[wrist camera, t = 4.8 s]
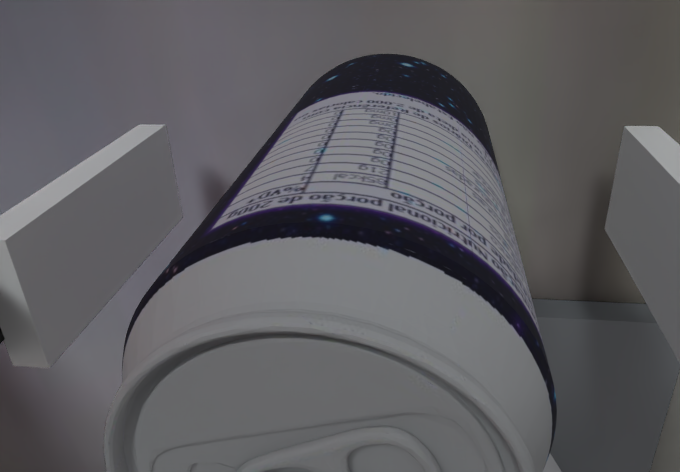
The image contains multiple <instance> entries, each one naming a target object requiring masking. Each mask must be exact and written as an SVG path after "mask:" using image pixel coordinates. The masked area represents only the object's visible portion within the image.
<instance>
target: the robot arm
mask: <svg viewBox="0 0 680 472" xmlns="http://www.w3.org/2000/svg"><path fill="white" fill-rule="evenodd" d="M182 218H183V214H182V209H181V204H180V198H179V193H178V187H177V182H176V176H175V171H174V165H173V160H172V155H171V149H170V144H169V138H168V133H167V127H166V125H142V124H139V125H138V126H136V127H135V128H133V129H132V130H130V131H129V132H127V133H125V134H124V135H122V136H121V137H119V138H118V139H116V140H115V141H113V142H112V143H110V144H109V145H107V146H106V147H104V148H103V149H101V150H100V151H98V152H96V153H95V154H93V155H92V156H90V157H89V158H87V159H86V160H84V161H83V162H81V163H80V164H78V165H77V166H75V167H74V168H72V169H71V170H69V171H67V172H66V173H64V174H63V175H61V176H60V177H58V178H57V179H55V180H54V181H52V182H51V183H49V184H48V185H46V186H45V187H43V188H42V189H40V190H38V191H37V192H35V193H34V194H32V195H31V196H29V197H28V198H26V199H25V200H23V201H22V202H20V203H19V204H17V205H16V206H14V207H12V208H11V209H9V210H8V211H6V212H5V213H3V214H2V215H0V343H1V342H2V341H4V344H5V346H6V349H7V351H8V354H9V357H10V359H11V362H12V364H13V366H22V367H36V368H50V367H51V366H52V365H53V364H54V363H55V362H56V361H57V359H58V358H59V357H60V356H61V355H62V354H63V353H64V351H65V350H66V349H67V348H68V347H69V346H70V345H71V344H72V342H73V341H74V340H75V339H76V338H77V337H78V336H79V334H80V333H81V332H82V331H83V330H84V329H85V328H86V327H87V325H88V324H89V323H90V322H91V321H92V320H93V319H94V317H95V316H96V315H97V314H98V313H99V312H100V311H101V310H102V308H103V307H104V306H105V305H106V304H107V303H108V302H109V300H110V299H111V298H112V297H113V296H114V295H115V294H116V293H117V291H118V290H119V289H120V288H121V287H122V286H123V285H124V283H125V282H126V281H127V280H128V279H129V278H130V277H131V276H132V274H133V273H134V272H135V271H136V270H137V269H138V268H139V266H140V265H141V264H142V263H143V262H144V261H145V260H146V259H147V257H148V256H149V255H150V254H151V253H152V252H153V251H154V249H155V248H156V247H157V246H158V245H159V244H160V243H161V242H162V240H163V239H164V238H165V237H166V236H167V235H168V234H169V232H170V231H171V230H172V229H173V228H174V227H175V226H176V225H177V223H178V222H179V221H180V220H181V219H182ZM605 231H606V232H607V234H608V236H609V238H610V240H611V241H612V243H613V245H614V247H615V249H616V250H617V252H618V254H619V256H620V257H621V259H622V261H623V263H624V265H625V266H626V268H627V270H628V272H629V273H630V275H631V277H632V279H633V281H634V282H635V284H636V286H637V288H638V290H639V291H640V293H641V295H642V297H643V298H644V300H645V302H646V304H647V306H648V307H649V309H650V311H651V313H652V315H653V316H654V318H655V320H656V322H657V323H658V325H659V327H660V329H661V331H662V332H663V334H664V336H665V338H666V340H667V341H668V343H669V345H670V347H671V348H672V350H673V352H674V354H675V356H676V357H677V359H678V361H679V363H680V145H679V144H678V143H677V142H676V141H675V140H674V139H672V138H671V137H670V136H669V135H668V134H667V133H666V132H664V131H663V130H662V129H661V128H660V127H659V126H624V129H623V134H622V140H621V145H620V150H619V155H618V161H617V166H616V171H615V177H614V182H613V187H612V192H611V198H610V203H609V208H608V213H607V219H606V224H605Z"/></svg>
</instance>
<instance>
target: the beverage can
mask: <svg viewBox="0 0 680 472" xmlns="http://www.w3.org/2000/svg"><path fill="white" fill-rule="evenodd" d="M556 419H557V405H556V394H555V389H554V383H553V379H552V375H551V371H550V367H549V364H548V360H547V356H546V352H545V348H544V344H543V340H542V337H541V333H540V329H539V325H538V321H537V317H536V313H535V310H534V306H533V302H532V298H531V294H530V290H529V286H528V282H527V279H526V275H525V271H524V267H523V263H522V259H521V255H520V252H519V248H518V244H517V240H516V236H515V232H514V228H513V224H512V221H511V217H510V213H509V209H508V205H507V201H506V197H505V194H504V190H503V186H502V182H501V178H500V174H499V170H498V167H497V163H496V159H495V155H494V151H493V147H492V143H491V139H490V136H489V132H488V128H487V125H486V122H485V119H484V116H483V114H482V112H481V110H480V108H479V106H478V105H477V103H476V101H475V100H474V98H473V97H472V95H471V94H470V93H469V92H468V91H467V89H466V88H465V87H464V86H463V85H462V84H461V83H460V82H459V81H458V80H456V79H455V78H454V77H453V76H452V75H450V74H449V73H447V72H446V71H444V70H443V69H441V68H439V67H437V66H435V65H433V64H431V63H429V62H427V61H424V60H421V59H418V58H415V57H410V56H405V55H398V54H377V55H369V56H364V57H360V58H356V59H353V60H350V61H348V62H345V63H343V64H341V65H339V66H337V67H335V68H333V69H332V70H330V71H329V72H327V73H326V74H324V75H323V76H322V77H321V78H319V79H318V80H317V81H316V82H315V83H314V84H313V85H312V86H311V87H310V88H309V89H308V91H307V92H306V93H305V94H304V96H303V97H302V98H301V99H300V101H299V102H298V103H297V104H296V106H295V107H294V108H293V109H292V111H291V112H290V113H289V114H288V116H287V117H286V118H285V119H284V121H283V122H282V123H281V124H280V126H279V127H278V128H277V129H276V131H275V132H274V133H273V134H272V136H271V137H270V138H269V139H268V141H267V142H266V143H265V144H264V146H263V147H262V148H261V149H260V151H259V152H258V153H257V154H256V156H255V157H254V158H253V159H252V161H251V162H250V163H249V164H248V166H247V167H246V168H245V169H244V171H243V172H242V173H241V175H240V176H239V177H238V178H237V180H236V181H235V182H234V183H233V185H232V186H231V187H230V188H229V190H228V191H227V192H226V193H225V195H224V196H223V197H222V198H221V200H220V201H219V202H218V203H217V205H216V206H215V207H214V208H213V210H212V211H211V212H210V213H209V215H208V216H207V217H206V218H205V220H204V221H203V222H202V223H201V225H200V226H199V227H198V228H197V230H196V231H195V232H194V233H193V235H192V236H191V237H190V238H189V240H188V241H187V242H186V243H185V245H184V246H183V247H182V248H181V250H180V251H179V252H178V253H177V255H176V256H175V257H174V258H173V260H172V261H171V262H170V263H169V265H168V266H167V267H166V268H165V270H164V271H163V272H162V273H161V275H160V276H159V277H158V279H157V280H156V281H155V282H154V284H153V285H152V286H151V287H150V289H149V290H148V291H147V293H146V294H145V296H144V297H143V298H142V300H141V302H140V304H139V305H138V307H137V309H136V311H135V313H134V315H133V317H132V320H131V322H130V325H129V328H128V331H127V335H126V340H125V345H124V352H123V362H122V385H121V387H120V388H119V390H118V391H117V393H116V395H115V397H114V400H113V402H112V404H111V407H110V410H109V413H108V416H107V420H106V424H105V434H104V445H103V450H104V457H105V464H106V471H107V472H543V470H544V467H545V465H546V462H547V459H548V457H549V454H550V451H551V448H552V444H553V440H554V436H555V429H556Z"/></svg>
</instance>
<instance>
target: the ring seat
mask: <svg viewBox="0 0 680 472" xmlns="http://www.w3.org/2000/svg"><path fill="white" fill-rule="evenodd" d="M532 302H533V306H534V310H535V313H536V317H537V321H538V325H539V329H540V333H541V337H542V340H543V344H544V348H545V352H546V356H547V360H548V364H549V367H550V371H551V375H552V379H553V383H554V389H555V394H556V405H557V419H556V429H555V436H554V440H553V444H552V448H551V451H550V454H549V457H548V459H547V462H546V465H545V467H544V470H543V472H650V469H651V466H652V462H653V459H654V455H655V452H656V449H657V445H658V442H659V438H660V435H661V432H662V428H663V425H664V421H665V418H666V415H667V411H668V408H669V404H670V401H671V398H672V394H673V391H674V387H675V384H676V381H677V377H678V374H679V370H680V363H679V361H678V359H677V357H676V356H675V354H674V352H673V350H672V348H671V347H670V345H669V343H668V341H667V340H666V338H665V336H664V334H663V332H662V331H661V329H660V327H659V325H658V323H657V322H656V320H655V318H654V316H653V315H652V313H651V311H650V309H649V307H648V306H647V304H634V303H612V302H591V301H569V300H547V299H532Z"/></svg>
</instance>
